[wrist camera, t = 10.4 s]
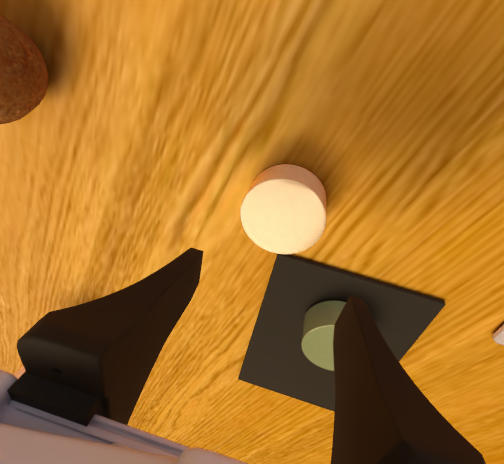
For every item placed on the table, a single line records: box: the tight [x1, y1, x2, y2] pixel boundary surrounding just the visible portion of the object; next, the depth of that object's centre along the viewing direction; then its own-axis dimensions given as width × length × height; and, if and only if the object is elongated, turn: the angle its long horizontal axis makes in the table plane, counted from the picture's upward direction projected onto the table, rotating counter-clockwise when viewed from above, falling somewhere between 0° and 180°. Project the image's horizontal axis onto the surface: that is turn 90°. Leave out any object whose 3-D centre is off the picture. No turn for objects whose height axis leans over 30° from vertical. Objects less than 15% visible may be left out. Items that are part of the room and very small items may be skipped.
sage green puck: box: [301, 301, 346, 371], centre depth 24 cm, size 5×5×3 cm
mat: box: [238, 254, 445, 411], centre depth 28 cm, size 13×18×1 cm
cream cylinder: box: [240, 164, 326, 254], centre depth 20 cm, size 5×5×3 cm
